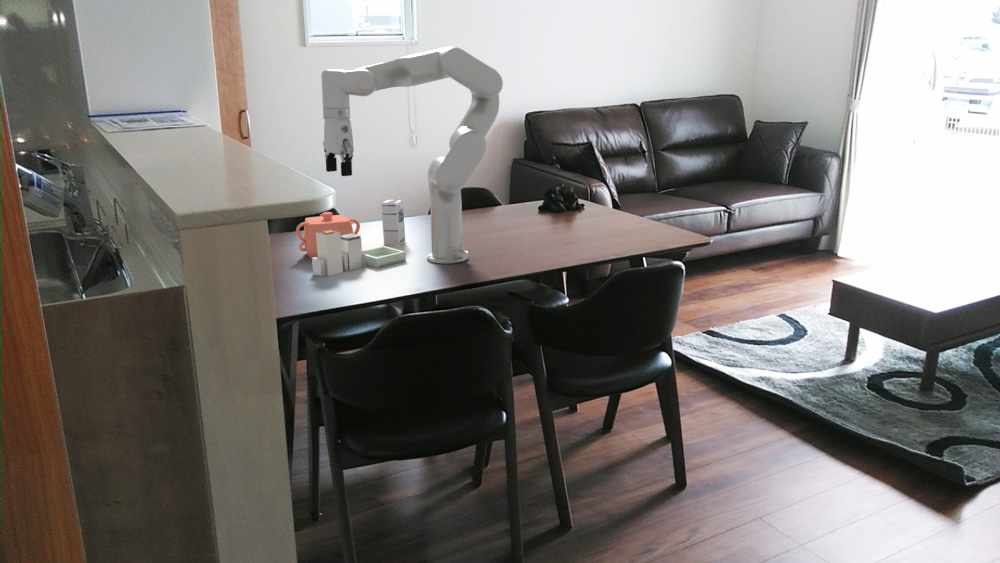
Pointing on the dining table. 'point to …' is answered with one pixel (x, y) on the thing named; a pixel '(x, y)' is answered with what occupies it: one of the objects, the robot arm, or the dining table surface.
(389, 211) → the syrup box
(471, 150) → the robot arm
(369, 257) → the tray
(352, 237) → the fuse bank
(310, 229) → the teapot
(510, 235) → the dining table surface
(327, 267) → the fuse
